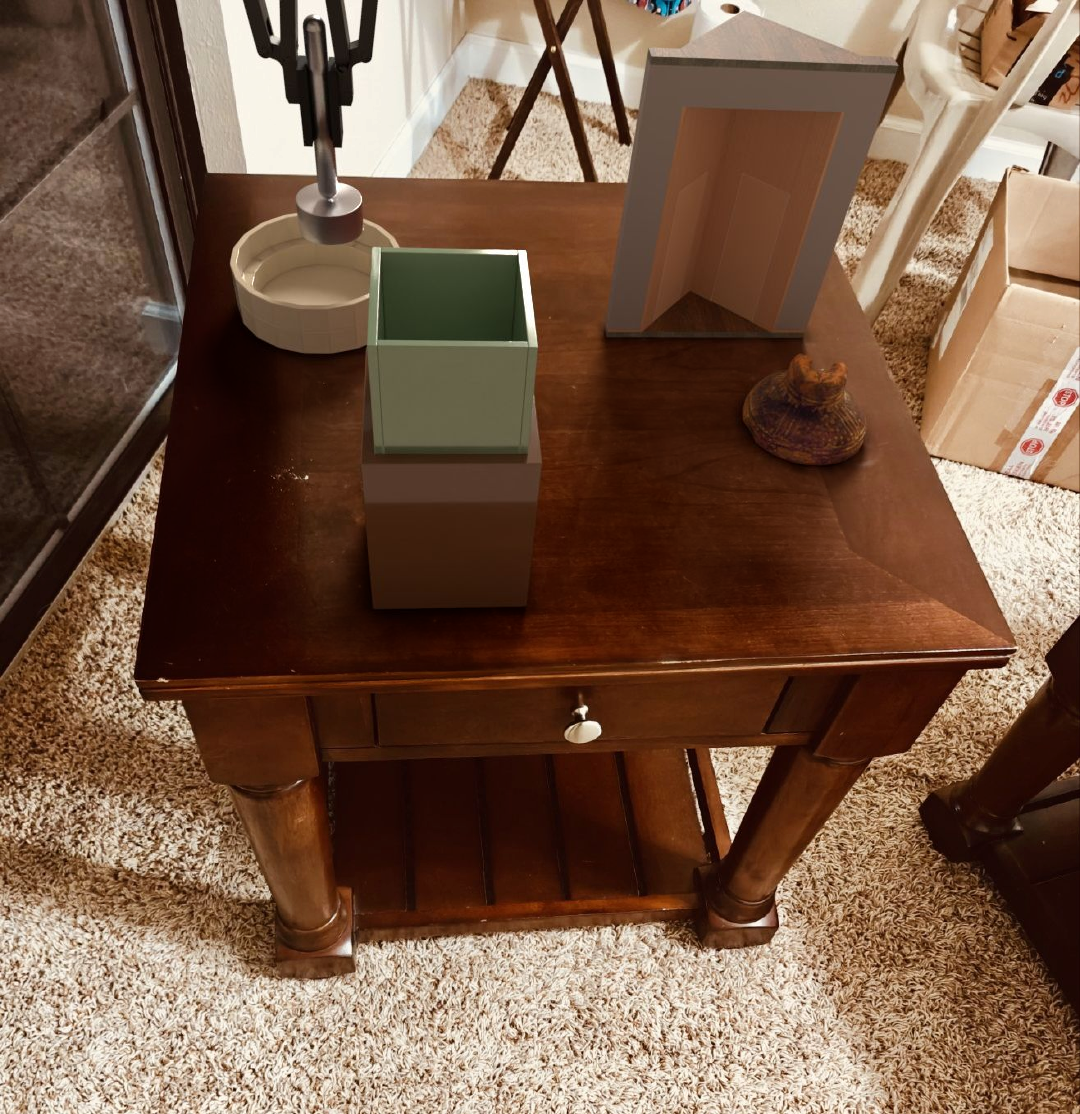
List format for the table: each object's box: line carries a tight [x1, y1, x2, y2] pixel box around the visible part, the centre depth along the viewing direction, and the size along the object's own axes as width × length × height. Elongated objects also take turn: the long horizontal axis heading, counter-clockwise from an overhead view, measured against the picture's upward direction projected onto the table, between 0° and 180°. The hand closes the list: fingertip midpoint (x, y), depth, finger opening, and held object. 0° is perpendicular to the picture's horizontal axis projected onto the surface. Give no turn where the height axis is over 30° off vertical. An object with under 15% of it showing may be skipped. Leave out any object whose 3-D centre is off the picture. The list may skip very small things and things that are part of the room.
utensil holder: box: [360, 247, 543, 610], centre depth 72 cm, size 12×12×25 cm
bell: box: [742, 353, 868, 466], centre depth 92 cm, size 12×12×7 cm
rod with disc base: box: [295, 13, 364, 245], centre depth 86 cm, size 6×6×19 cm
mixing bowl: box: [229, 212, 401, 355], centre depth 98 cm, size 16×16×6 cm
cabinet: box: [603, 10, 899, 339], centre depth 95 cm, size 21×10×28 cm, turn 95°
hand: (323, 138), depth 87 cm, fingers closed on rod with disc base, 2 cm apart
